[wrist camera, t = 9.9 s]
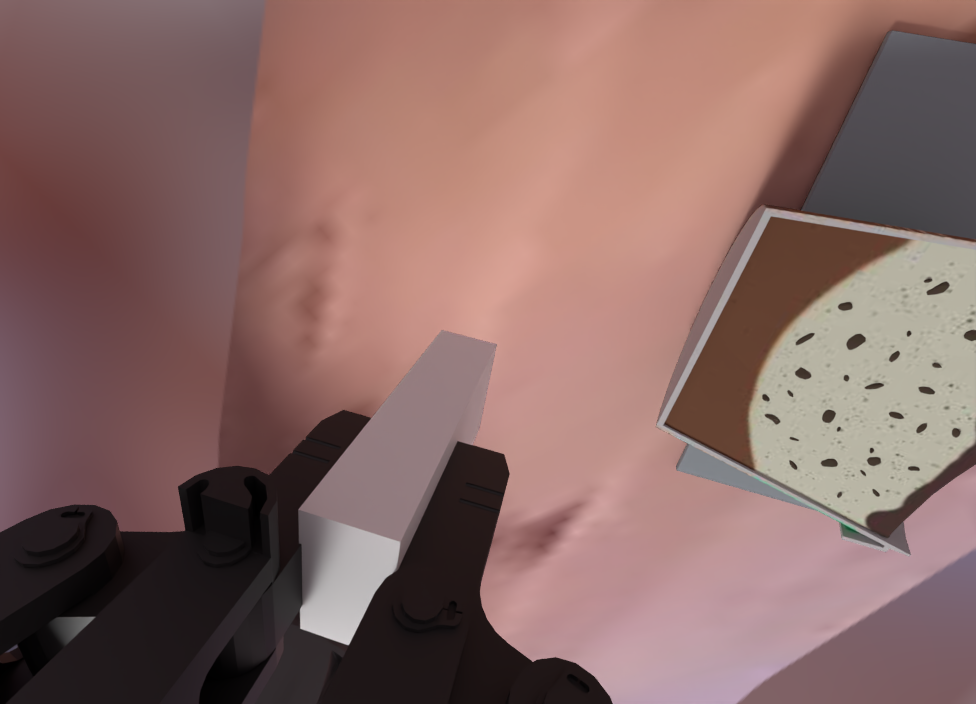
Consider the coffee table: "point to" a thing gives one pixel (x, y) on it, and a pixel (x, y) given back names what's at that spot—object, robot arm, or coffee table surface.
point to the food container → (836, 367)
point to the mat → (893, 167)
